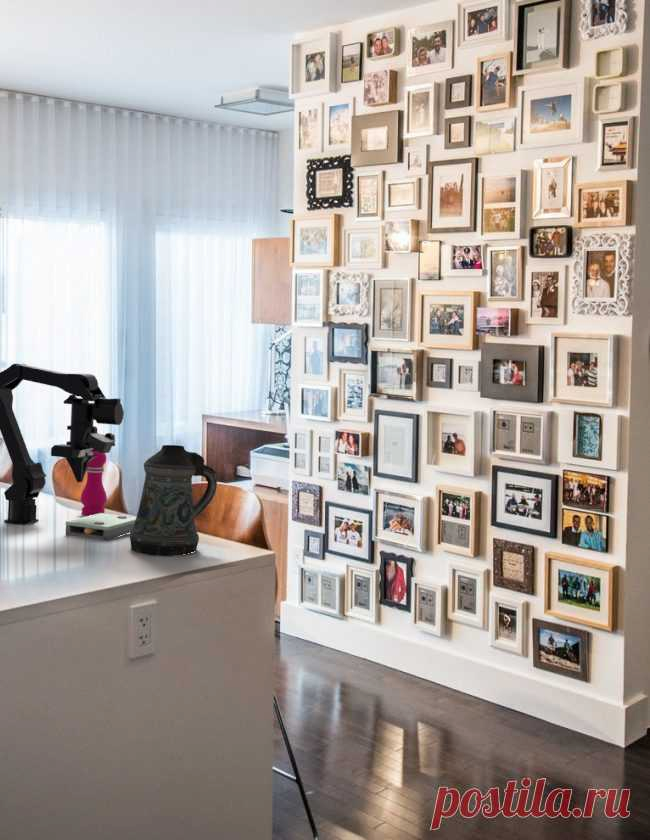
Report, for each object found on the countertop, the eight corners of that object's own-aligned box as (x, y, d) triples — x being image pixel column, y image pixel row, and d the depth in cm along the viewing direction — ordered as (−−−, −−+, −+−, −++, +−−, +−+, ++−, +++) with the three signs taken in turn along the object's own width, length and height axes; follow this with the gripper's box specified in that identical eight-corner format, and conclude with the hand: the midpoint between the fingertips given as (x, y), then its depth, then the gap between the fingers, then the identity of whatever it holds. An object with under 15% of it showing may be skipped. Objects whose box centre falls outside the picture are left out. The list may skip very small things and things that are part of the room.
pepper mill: (109, 513, 289) (112, 443, 288) (101, 517, 282) (104, 445, 280) (84, 511, 290) (87, 441, 288) (76, 515, 282) (79, 444, 281)
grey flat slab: (65, 534, 254) (65, 524, 254) (100, 525, 269) (100, 516, 269) (107, 540, 250) (107, 530, 250) (139, 530, 265) (140, 521, 265)
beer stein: (114, 547, 242) (119, 443, 240) (176, 539, 257) (180, 440, 255) (160, 559, 232) (165, 450, 230) (221, 550, 246) (226, 447, 245)
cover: (65, 524, 253) (65, 520, 253) (100, 515, 269) (101, 511, 269) (107, 530, 250) (107, 525, 249) (140, 521, 265) (140, 517, 265)
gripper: (89, 426, 251) (86, 489, 252) (128, 423, 268) (125, 481, 270) (50, 423, 255) (48, 484, 256) (91, 419, 272) (89, 477, 273)
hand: (79, 482), depth 263 cm, fingers closed
